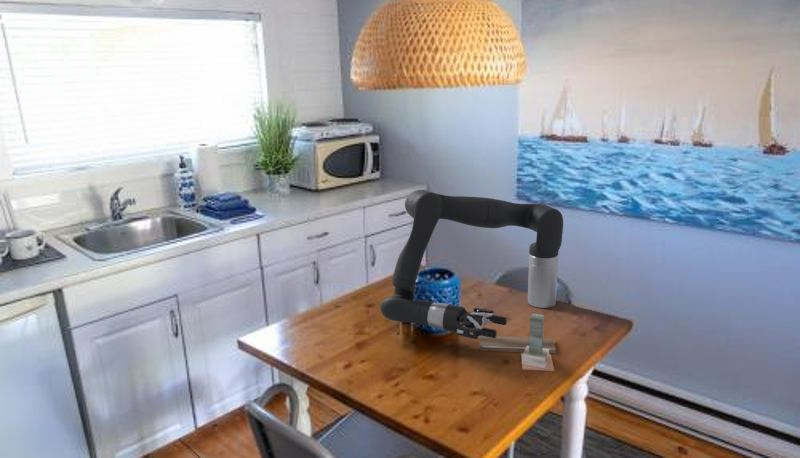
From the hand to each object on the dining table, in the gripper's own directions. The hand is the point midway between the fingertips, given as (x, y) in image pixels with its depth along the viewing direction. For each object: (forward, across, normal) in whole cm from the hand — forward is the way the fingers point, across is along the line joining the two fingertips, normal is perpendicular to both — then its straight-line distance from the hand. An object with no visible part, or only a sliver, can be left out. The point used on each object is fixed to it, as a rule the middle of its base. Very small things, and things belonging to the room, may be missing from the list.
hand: (501, 327), depth 155 cm
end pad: (+10, 0, +8) cm, 13 cm away
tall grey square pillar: (+10, 0, +8) cm, 12 cm away
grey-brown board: (+2, +7, +8) cm, 11 cm away
